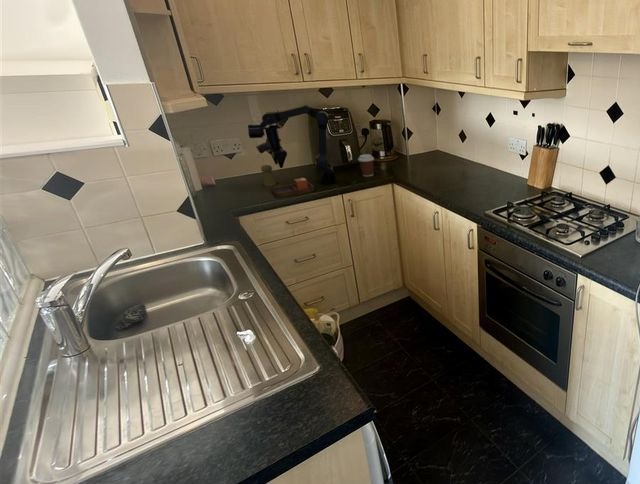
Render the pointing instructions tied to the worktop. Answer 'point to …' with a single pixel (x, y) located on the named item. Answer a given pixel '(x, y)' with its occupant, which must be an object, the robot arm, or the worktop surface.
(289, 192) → the sorting tray
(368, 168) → the coffee cup
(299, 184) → the terracotta block
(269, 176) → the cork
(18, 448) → the worktop surface
